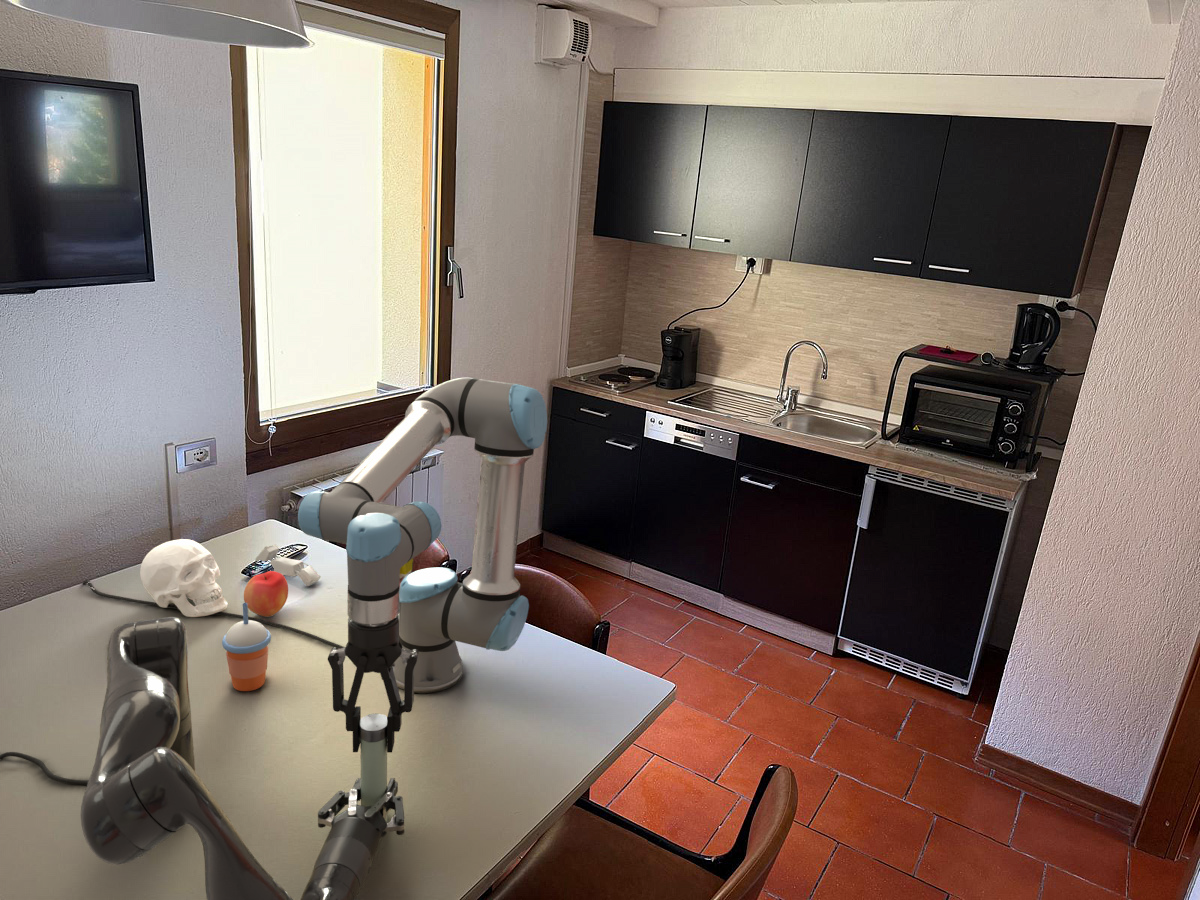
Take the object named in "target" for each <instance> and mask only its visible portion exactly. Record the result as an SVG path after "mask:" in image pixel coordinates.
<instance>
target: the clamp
mask: <svg viewBox="0 0 1200 900" xmlns="http://www.w3.org/2000/svg"><path fill="white" fill-rule="evenodd" d="M280 549H281V547H279V546H278V545H277V544H272V545H266V546H264V547H263V549H262V550H261V551H260V552H259V554H258V555H257V556H256V557H255V559H254V562H255V563H256V561H259V560H262V561H268V560H271V562H270V563H269V564H271V565H272V566H273V568H274V571H275V572H278V573H281V574H282V575H283V576H288V577H292V578H296V577H298V578H299V579H300V580H301V582H303V584H304V585H305V587H309V586H312V585H314V584H316V583H318V582H319V580H320V579H321V578H322V577H321V575H320V574H319V573H318V572H317V570H315V569H314V568H313V566H312V565H310V564H309V565H308V564H307V563H305V562H304V561H303V560H301V559H300V560H299V559H292V558H289V557H285V556H278V553H279V551H280ZM273 558H274V559H273ZM272 559H273V560H272ZM305 566H306V567H305ZM270 571H271V570H270Z"/></svg>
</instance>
